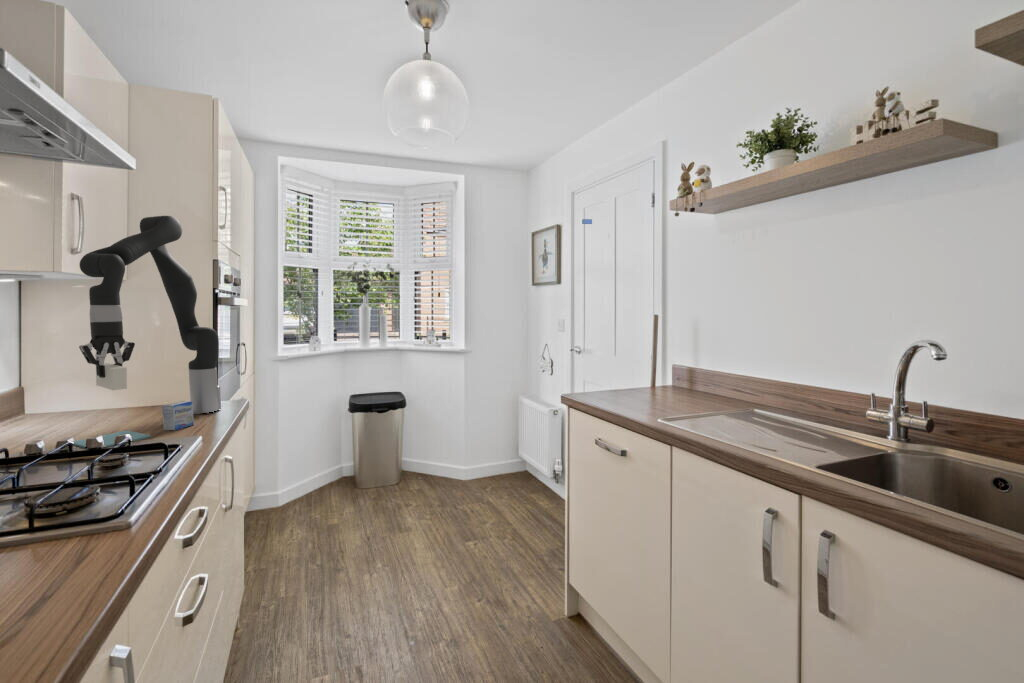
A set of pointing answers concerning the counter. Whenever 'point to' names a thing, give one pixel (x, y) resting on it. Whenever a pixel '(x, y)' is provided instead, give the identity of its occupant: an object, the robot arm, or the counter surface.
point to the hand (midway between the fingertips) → (110, 376)
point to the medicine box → (177, 415)
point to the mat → (110, 438)
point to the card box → (113, 377)
